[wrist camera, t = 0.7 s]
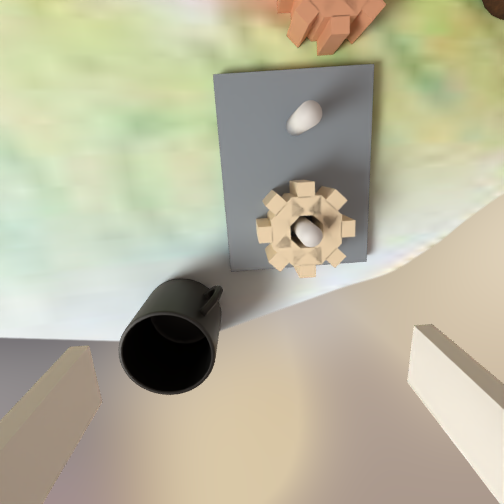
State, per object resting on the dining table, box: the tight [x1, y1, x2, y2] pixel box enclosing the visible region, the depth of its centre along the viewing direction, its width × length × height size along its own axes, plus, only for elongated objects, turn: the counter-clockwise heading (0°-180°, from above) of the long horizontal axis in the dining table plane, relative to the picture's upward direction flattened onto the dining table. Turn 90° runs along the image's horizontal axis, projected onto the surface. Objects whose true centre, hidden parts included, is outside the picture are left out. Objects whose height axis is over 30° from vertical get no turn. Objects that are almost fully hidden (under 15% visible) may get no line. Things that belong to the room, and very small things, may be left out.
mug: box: [119, 279, 223, 395], centre depth 33 cm, size 9×12×9 cm
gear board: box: [213, 64, 374, 278], centre depth 30 cm, size 21×16×8 cm
